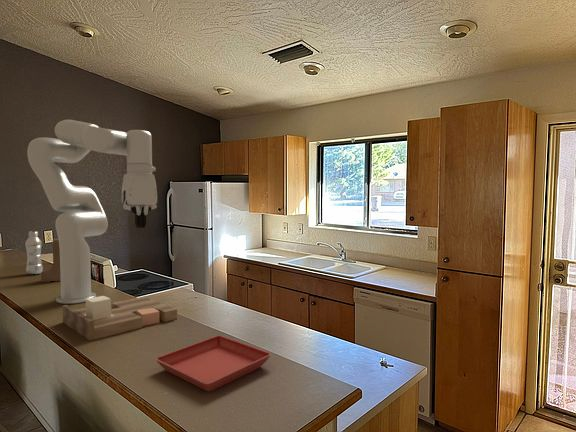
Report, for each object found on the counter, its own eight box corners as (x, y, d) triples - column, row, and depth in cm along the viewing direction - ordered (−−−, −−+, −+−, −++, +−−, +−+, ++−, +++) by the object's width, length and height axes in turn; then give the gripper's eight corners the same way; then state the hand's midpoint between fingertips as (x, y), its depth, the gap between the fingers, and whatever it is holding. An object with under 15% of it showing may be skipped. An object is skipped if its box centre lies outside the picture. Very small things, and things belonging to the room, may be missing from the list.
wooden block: (41, 282, 169) (40, 240, 168) (42, 280, 173) (41, 239, 172) (65, 280, 173) (64, 239, 172) (66, 278, 177) (65, 238, 176)
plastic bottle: (37, 275, 184) (36, 232, 183) (22, 275, 184) (21, 232, 183) (46, 272, 190) (44, 231, 189) (32, 272, 190) (30, 231, 189)
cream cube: (86, 316, 113) (85, 299, 113) (103, 312, 117) (103, 295, 117) (93, 320, 110) (92, 302, 110) (111, 316, 114) (110, 298, 113)
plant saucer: (207, 400, 74) (207, 383, 74) (153, 372, 85) (153, 357, 85) (272, 368, 88) (272, 353, 87) (219, 347, 99) (219, 334, 99)
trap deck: (62, 322, 117) (62, 305, 117) (144, 305, 135) (144, 290, 135) (89, 340, 103) (89, 321, 102) (177, 318, 121) (176, 302, 120)
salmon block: (136, 322, 118) (136, 310, 118) (153, 319, 121) (153, 307, 121) (142, 326, 114) (142, 314, 114) (159, 323, 117) (159, 311, 117)
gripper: (155, 171, 134) (156, 225, 135) (111, 169, 124) (112, 228, 125) (167, 170, 129) (168, 226, 130) (121, 168, 118) (122, 229, 120)
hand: (140, 227), depth 127 cm, fingers closed
